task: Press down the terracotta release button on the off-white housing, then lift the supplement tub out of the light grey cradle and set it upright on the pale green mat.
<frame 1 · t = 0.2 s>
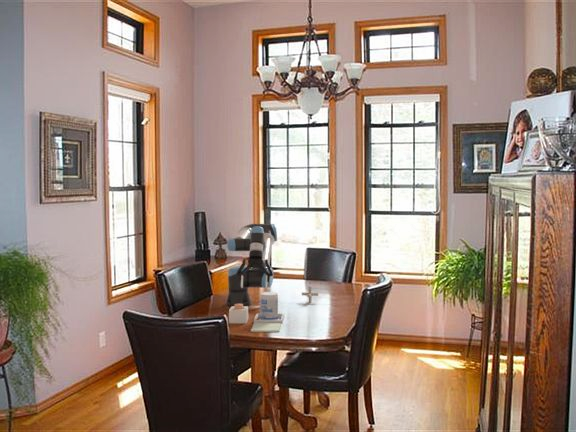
hand: (253, 287, 314), 16 cm above the table, tool tilted 35°, fingers open, 13 cm apart
mat: (266, 328, 289), on the table
pipe connector: (310, 302, 349), on the table
cradle: (269, 320, 305), on the table
release button: (238, 309, 304), point 6 cm above the table, slide at 0.0 cm
supplement tub: (269, 320, 305), resting in cradle
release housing: (238, 321, 304), on the table
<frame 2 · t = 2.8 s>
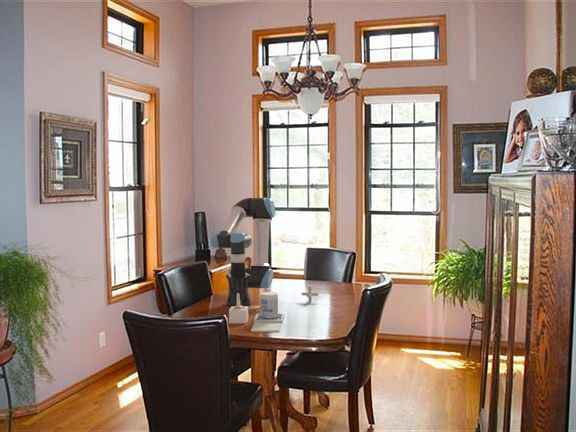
hand: (238, 305, 304), 8 cm above the table, tool pointing down, fingers closed
release button: (238, 310, 304), point 6 cm above the table, slide at 1.0 cm, touching gripper
everything else where it was.
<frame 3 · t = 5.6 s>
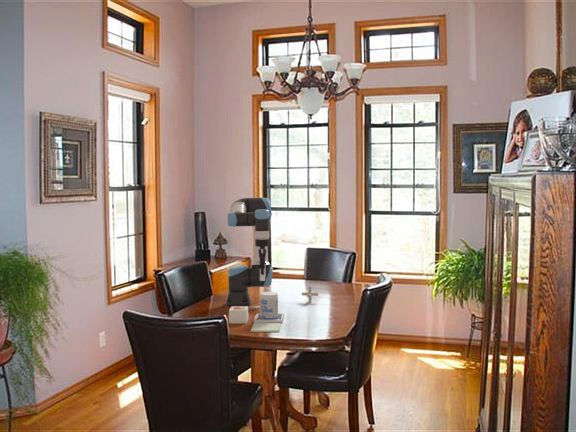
hand: (262, 278, 303), 23 cm above the table, tool pointing down, fingers open, 13 cm apart
release button: (238, 312, 304), point 5 cm above the table, slide at 1.6 cm
everything else where it was.
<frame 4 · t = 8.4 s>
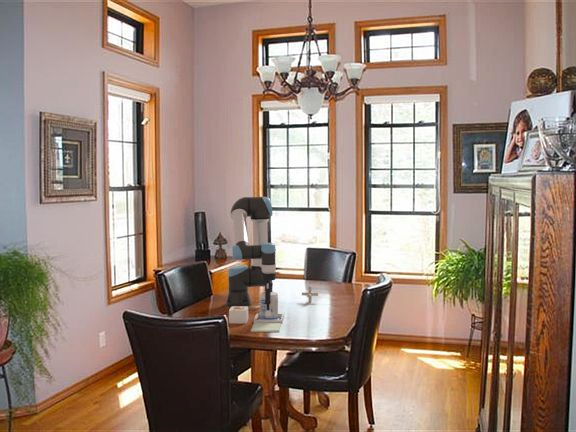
hand: (269, 313, 305), 4 cm above the table, tool pointing down, fingers closed on supplement tub, 9 cm apart
supplement tub: (269, 320, 305), resting in cradle, touching gripper
everything else where it was.
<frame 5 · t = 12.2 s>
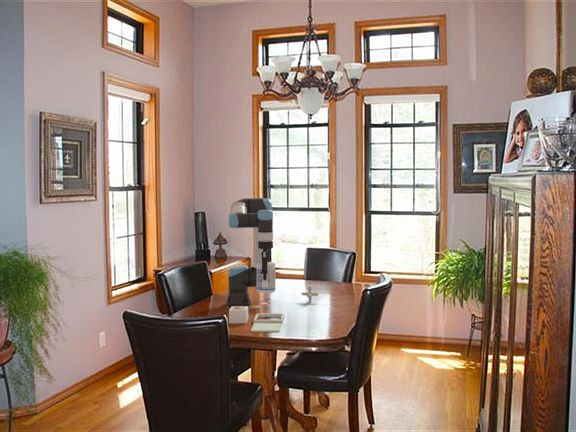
hand: (266, 284, 289), 22 cm above the table, tool pointing down, fingers closed on supplement tub, 9 cm apart
supplement tub: (266, 292, 289), point 18 cm above the table, touching gripper
everything else where it was.
when the fingers open (6 cm above the table, at t = 15.8 s): supplement tub drops 1 cm, resting on mat.
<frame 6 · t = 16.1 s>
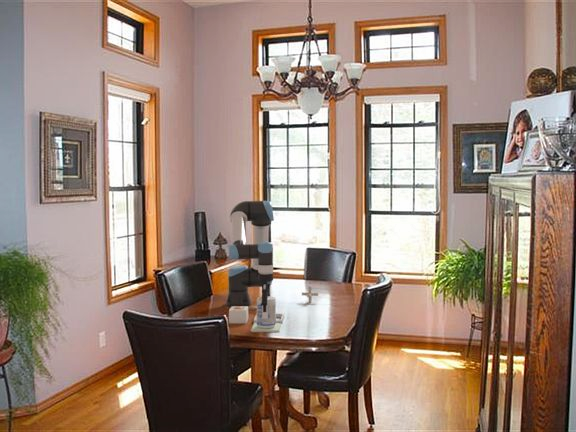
hand: (266, 315, 289), 7 cm above the table, tool pointing down, fingers open, 12 cm apart
supplement tub: (266, 327, 290), point 1 cm above the table, touching mat
everything else where it was.
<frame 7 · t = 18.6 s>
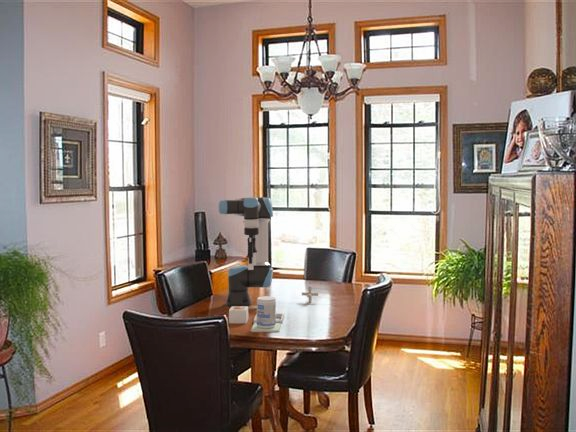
hand: (252, 267, 300), 29 cm above the table, tool pointing down, fingers open, 13 cm apart
nothing on the table moved.
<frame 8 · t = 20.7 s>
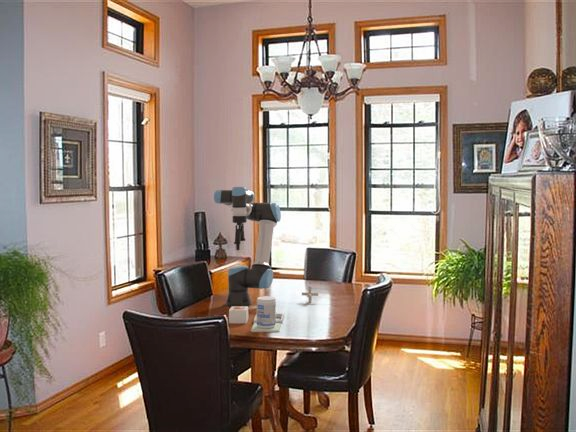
hand: (240, 254, 310), 35 cm above the table, tool pointing down, fingers open, 13 cm apart
nothing on the table moved.
at the end: release button slide at 1.6 cm; supplement tub inside the target area (0.2 cm from its centre), point 0.6 cm above the table; supplement tub tilted 0° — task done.
